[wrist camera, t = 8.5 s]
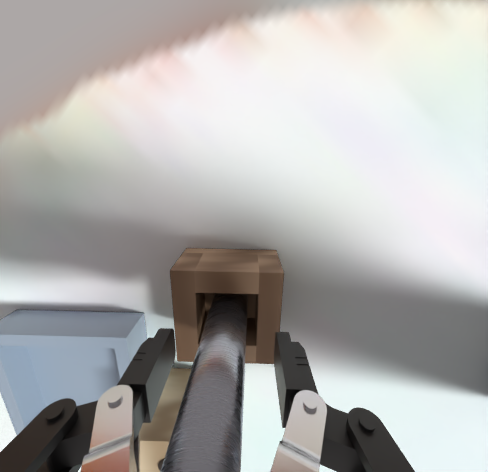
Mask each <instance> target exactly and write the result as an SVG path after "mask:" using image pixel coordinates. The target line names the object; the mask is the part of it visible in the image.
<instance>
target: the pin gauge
mask: <svg viewBox="0 0 488 472" xmlns="http://www.w3.org/2000/svg"><path fill="white" fill-rule="evenodd" d="M247 307H248V294H231V293H214V297H213V300H212V303H211V307H210V310H209V313H208V317H207V320H206V323H205V326H204V330H203V333H202V336H201V340H200V343H199V346H198V349H197V353H196V356H195V359H194V363H193V366H192V369H191V373H190V376H189V379H188V382H187V386H186V389H185V392H184V396H183V399H182V402H181V405H180V409H179V412H178V415H177V419H176V422H175V425H174V429H173V432H172V435H171V438H170V442H169V445H168V448H167V452H166V455H165V458H164V461H163V465H162V468H161V471H160V472H240V469H241V446H242V423H243V400H244V377H245V354H246V330H247Z"/></svg>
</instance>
